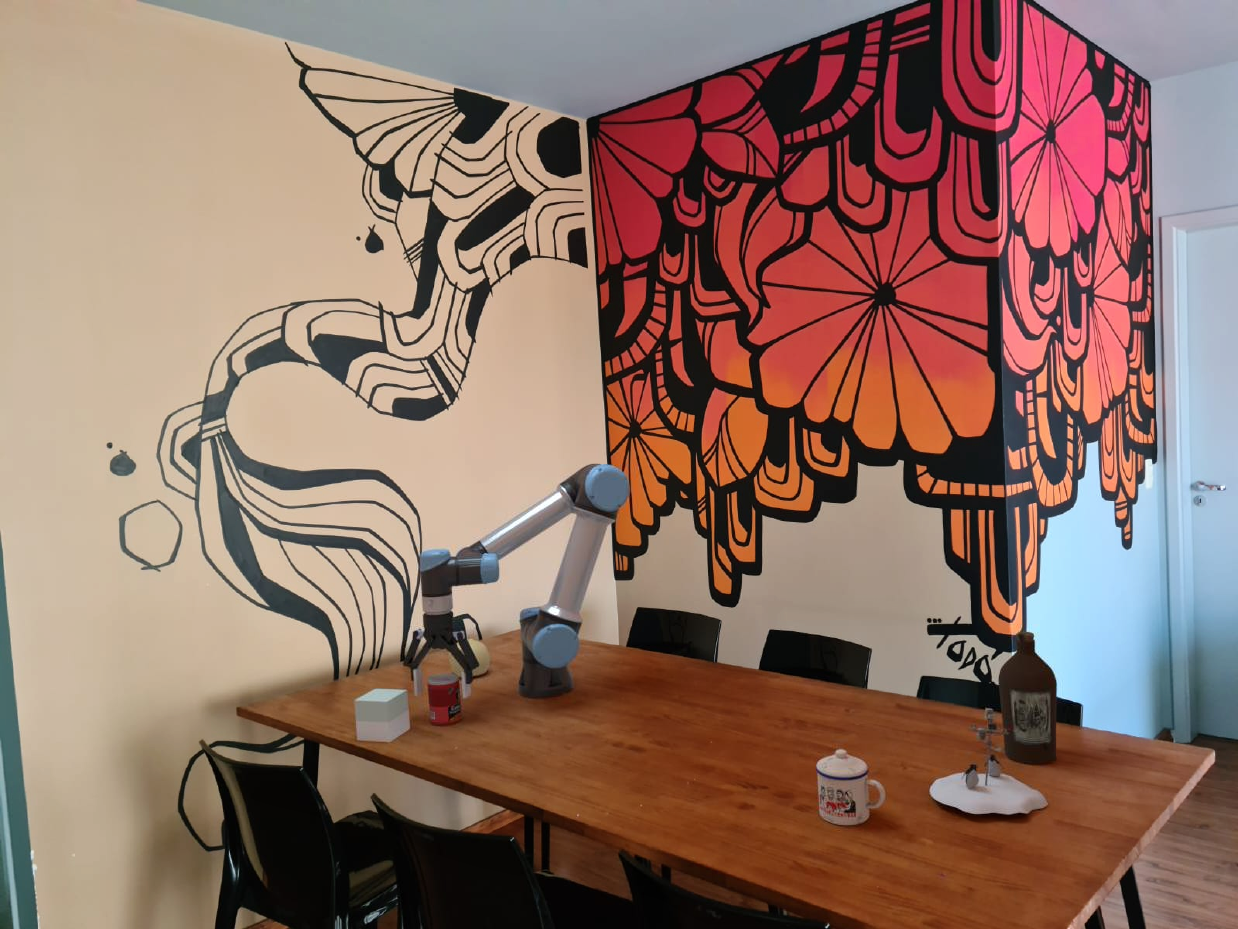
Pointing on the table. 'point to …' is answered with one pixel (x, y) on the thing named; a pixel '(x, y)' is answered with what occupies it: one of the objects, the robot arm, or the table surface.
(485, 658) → the sculpture
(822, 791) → the teacup with lid
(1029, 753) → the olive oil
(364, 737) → the tower base
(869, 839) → the table surface
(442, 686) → the canned food
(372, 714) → the tower top
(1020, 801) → the figurine
